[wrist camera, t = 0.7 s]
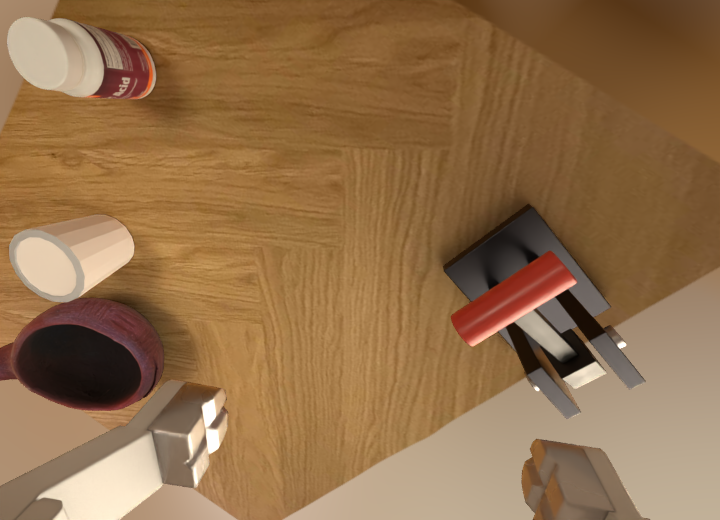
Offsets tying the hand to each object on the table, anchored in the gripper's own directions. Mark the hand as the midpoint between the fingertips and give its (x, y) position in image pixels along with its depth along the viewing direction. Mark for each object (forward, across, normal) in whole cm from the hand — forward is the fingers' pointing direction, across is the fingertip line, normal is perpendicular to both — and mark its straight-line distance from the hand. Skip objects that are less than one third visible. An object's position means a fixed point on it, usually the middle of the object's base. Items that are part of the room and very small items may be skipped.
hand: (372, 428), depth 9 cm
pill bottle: (+24, +24, -9) cm, 35 cm away
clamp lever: (+12, -9, +3) cm, 15 cm away
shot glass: (+24, +29, +7) cm, 39 cm away
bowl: (+24, +30, +19) cm, 43 cm away
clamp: (+24, -12, +6) cm, 28 cm away
